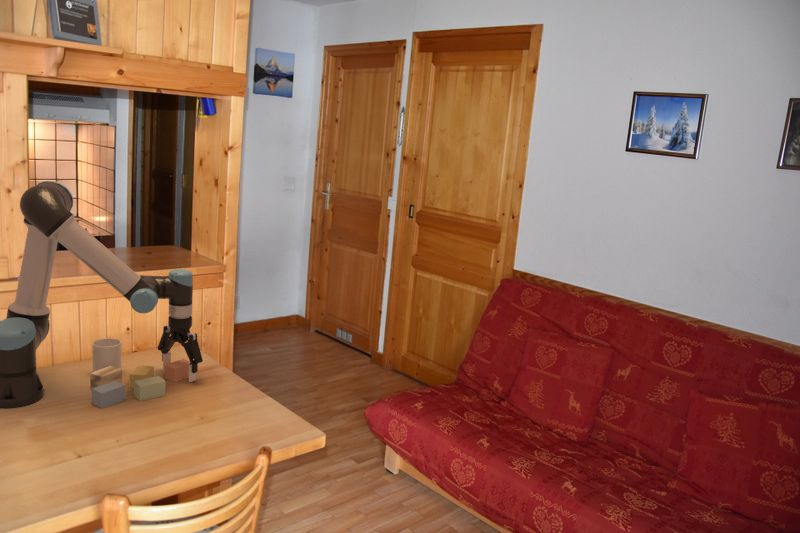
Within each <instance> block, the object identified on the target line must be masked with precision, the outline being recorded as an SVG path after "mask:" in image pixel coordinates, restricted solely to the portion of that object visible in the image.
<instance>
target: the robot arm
mask: <svg viewBox="0 0 800 533" xmlns="http://www.w3.org/2000/svg"><path fill="white" fill-rule="evenodd" d="M73 206H74V197H73V194H72V192H71V191H70V189H69V188H68V187H67V186H66V185H64V184H62V183H61V182H58V181H54V180H53V181H51V180H47V181H42V182H38V183H36V184H35V185H34V186H31V187H29V188H27V189H26V190H25V191H24V192H23V194H22V195H21V198H20V200H19V208H20V209H19V210H20V211H21V214H22V215H23V224H24V225H25V226H26V227H27V233H26V238H25V245H24V250H23V256H22V260H21V265H20V272H19V276H18V277H19V278H18V283H17V289H16V294H15V300H14V301H13V302H12V303H11V302H10V304H8V307H7V313H6V318H4V319H2V320H0V408H2V409H3V408H4V409H5V408H10V409H11V408H19V407H24V406H28V405H32V404H34V403H36V402H38V401H39V400H41V399H42V398H43V397H44V394H45V393H44V392H45V389H44V385H43V383H42V381H41V379H40V376H39V374H38V371H37V350H38V348H39V347H40V346H41V344H42V343H43V342H44V340H46V338H47V336H48V334H49V331H50V326H51V325H50V320H49V318H50V313H51V309H50V307H49V306H47V301H48V296H49V290H50V285H51V279H52V274H53V268H54V263H55V258H56V252H57V248H58V243H59V244H60V245H62V246H63V247H64V248H66V250H68V251H69V252H70V253H71V254H72V255H74V256H75V258H77V259H78V260H79V261H81V262H82V263H83V264H85V265H86V266H87V267H88V268H89V269H91V271H92V272H94V273H95V274H96V275H97V276H99V277H100V278H102V280H103V281H105V282H106V283H107V284H108V285H109V286H111V287H112V288H113V289H114V290H116V292H118V293H119V294H120V295H121V296H123V297H124V298H125V299H126V300H127V301H129V302H130V303H129V304H130V306H131V308H132V310H134V311H135V312H137V313H139V314H148V313H150V312H152V311H153V310H154V309H155V308H156V306H157V305H158V302H159V300H168V315H169V316H168V323H167V324H168V325H164V326H163V330H162V334H161V337H160V341H159V343H158V345H157V350H158V351H161V352H160V353H161V362H162V372H163V373H165V365H166V364H169V363H172V353H171V349H172V347H173V346H174V344H175V343H178V344H181V346H182V347H183V348H184V351H185V353H186V355H187V358H188V360H189V361H190V362H191V363H189V377H188V383H192V382H195V381H197V374H198V369H199V367H198V366H199V365H198V364H201V363H203V356H202V352H201V349H200V345H199V341H198V333H197V332H196V333H191V331H190V329H192V328H191V327H192V326H193V316H192V315H193V293H194V291H193V290H194V282H193V280H194V278H193V272H192V271H191V270H189V269H185V268H184V269H183V268H179V269H171V270H170V271H169V272H168V275H143V274H142V275H141V274H140V275H139V274H137V273H136V272H135V271H134V270H132V268H130V267H129V266H128V264H126V263H125V262H123V261H122V260H121V259H120V258H119V257H118V256H116V254H114V253H113V252H112V251H111V250H110V249H109V248H107V247H106V246H105V245H104V244H103V243H101V241H99V240H98V239H97V238H96V237H95V236H93V235H92V233H90V232H89V231H88V230H86V229H85V228H84V227H83V226H82V225H81V224H79V223H78V222H77V221H76V220H75V215H74V214H73V213H72V212H71V210H72V208H73Z"/></svg>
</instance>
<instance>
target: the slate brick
mask: <svg viewBox="0 0 800 533" xmlns="http://www.w3.org/2000/svg"><path fill="white" fill-rule="evenodd" d="M124 401H126V385H125V384H122V383H119V382H116V381H114V382H111V383H108V384H104V385H101V386H98V387H95V388H91V404H93V405H94V406H96V407H98V408H101V409H104V408H106V407H109V406H112V405H116V404H119V403H121V402H124Z"/></svg>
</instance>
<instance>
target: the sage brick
mask: <svg viewBox="0 0 800 533" xmlns="http://www.w3.org/2000/svg"><path fill="white" fill-rule="evenodd" d="M133 396H134V397H135V398H136V399H137V400H139V402H142V401H146V400H151V399H156V398H159V397H164V396H166V379H163V378H162V376H160V375H157V376H154V377H151V378H146V379H141V380H136V381H134V389H133Z"/></svg>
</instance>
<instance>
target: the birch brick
mask: <svg viewBox="0 0 800 533" xmlns="http://www.w3.org/2000/svg"><path fill="white" fill-rule="evenodd" d="M89 376H90V378H89V380H90V384H89V386H90V389H92V388H95V387H98V386H101V385H104V384H108V383H111V382H114V381H116V382H119V383H121V384H122V383H123V368H122V369H120V368H116V367H113V366H108V367H106V368H103V369H100V370H98V371H95V372H93V371H92V372H90V374H89Z"/></svg>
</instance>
